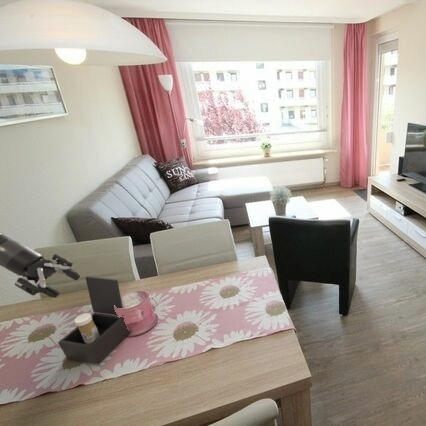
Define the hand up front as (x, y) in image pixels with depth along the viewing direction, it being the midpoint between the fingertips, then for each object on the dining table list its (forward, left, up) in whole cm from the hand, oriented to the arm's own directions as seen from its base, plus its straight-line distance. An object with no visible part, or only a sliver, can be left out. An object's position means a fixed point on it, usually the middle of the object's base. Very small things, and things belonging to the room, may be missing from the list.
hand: (68, 286), depth 93 cm
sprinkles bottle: (0, +1, -27) cm, 27 cm away
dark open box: (+1, +1, -28) cm, 28 cm away
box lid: (+9, +1, -12) cm, 15 cm away
